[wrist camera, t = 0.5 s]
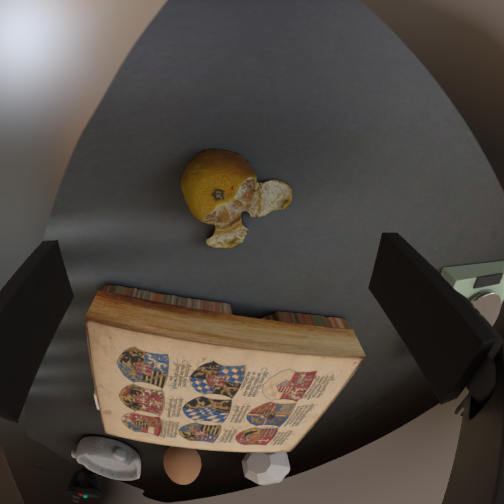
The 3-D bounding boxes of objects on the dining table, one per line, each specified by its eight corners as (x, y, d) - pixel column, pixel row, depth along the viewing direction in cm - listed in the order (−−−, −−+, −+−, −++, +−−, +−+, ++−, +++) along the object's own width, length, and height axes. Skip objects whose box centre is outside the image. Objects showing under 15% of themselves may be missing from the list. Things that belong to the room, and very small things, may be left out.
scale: (442, 266, 32) (457, 281, 29) (504, 259, 33) (517, 271, 30) (409, 349, 38) (419, 365, 36) (471, 332, 40) (481, 345, 37)
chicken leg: (257, 467, 55) (278, 493, 49) (226, 457, 44) (252, 493, 38) (287, 446, 57) (309, 472, 51) (265, 431, 46) (293, 466, 40)
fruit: (225, 255, 28) (226, 277, 24) (157, 191, 24) (148, 206, 21) (297, 196, 26) (309, 211, 22) (232, 121, 22) (235, 125, 19)
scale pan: (461, 296, 30) (464, 299, 29) (508, 286, 31) (511, 288, 30) (430, 359, 35) (432, 362, 34) (479, 344, 36) (481, 346, 36)
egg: (166, 434, 43) (164, 476, 36) (203, 439, 44) (205, 481, 37) (163, 448, 46) (161, 486, 39) (197, 452, 47) (198, 490, 40)
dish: (118, 432, 42) (115, 456, 38) (156, 461, 49) (155, 481, 45) (62, 432, 43) (57, 452, 38) (102, 461, 50) (100, 479, 45)
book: (102, 404, 38) (277, 426, 44) (95, 438, 33) (283, 459, 38) (88, 272, 27) (345, 316, 33) (64, 313, 22) (365, 356, 28)
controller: (68, 467, 54) (63, 497, 45) (94, 466, 52) (90, 500, 43) (80, 473, 56) (76, 503, 47) (107, 473, 54) (103, 506, 45)
